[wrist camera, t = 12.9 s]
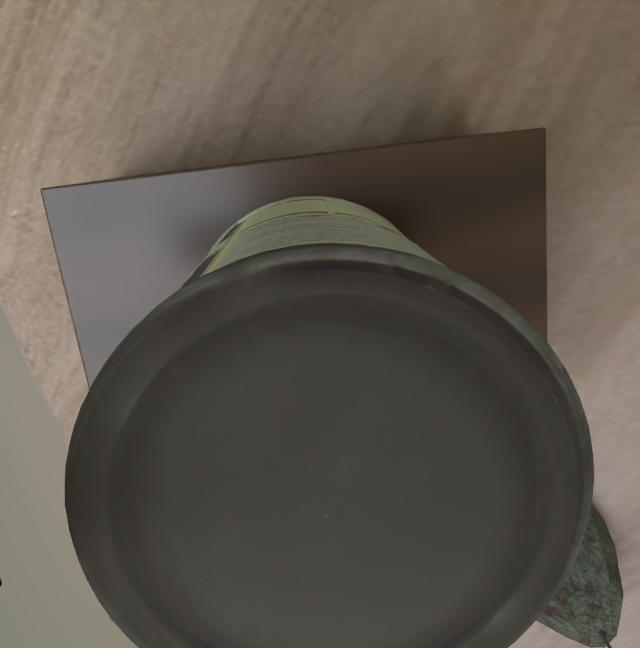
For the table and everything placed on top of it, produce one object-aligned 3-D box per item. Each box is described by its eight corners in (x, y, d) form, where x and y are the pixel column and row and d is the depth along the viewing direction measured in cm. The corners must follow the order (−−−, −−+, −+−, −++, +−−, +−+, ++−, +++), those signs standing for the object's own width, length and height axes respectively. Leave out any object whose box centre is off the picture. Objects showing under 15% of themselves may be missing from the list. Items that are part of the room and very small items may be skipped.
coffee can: (439, 415, 26) (588, 692, 13) (210, 438, 26) (118, 741, 13) (430, 180, 23) (610, 219, 10) (172, 205, 23) (2, 279, 10)
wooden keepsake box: (115, 178, 33) (9, 192, 21) (473, 134, 33) (575, 124, 21) (163, 408, 37) (97, 533, 25) (482, 369, 37) (572, 475, 25)
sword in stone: (474, 519, 40) (545, 669, 28) (586, 477, 39) (706, 612, 28) (518, 630, 42) (600, 808, 31) (624, 591, 42) (748, 758, 30)
